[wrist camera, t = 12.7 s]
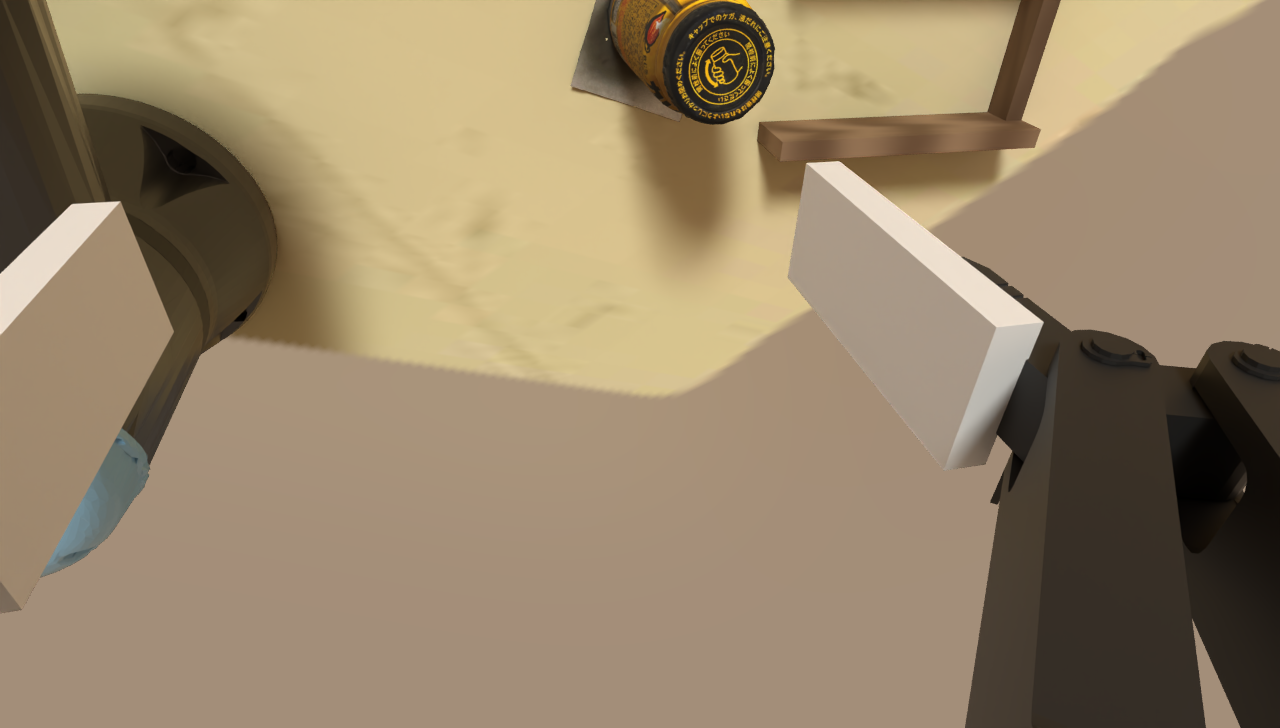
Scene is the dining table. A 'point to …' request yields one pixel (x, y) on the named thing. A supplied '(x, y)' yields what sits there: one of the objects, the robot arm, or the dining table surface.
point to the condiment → (678, 57)
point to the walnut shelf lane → (932, 130)
